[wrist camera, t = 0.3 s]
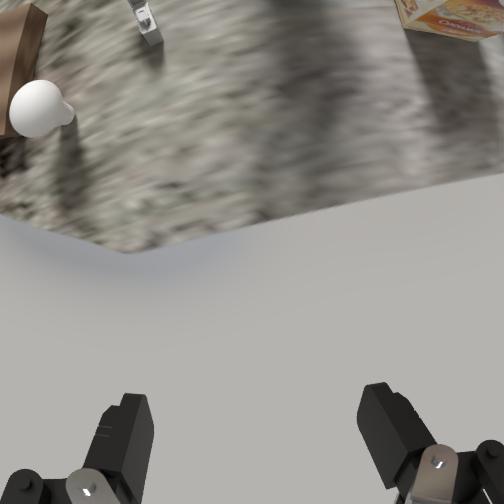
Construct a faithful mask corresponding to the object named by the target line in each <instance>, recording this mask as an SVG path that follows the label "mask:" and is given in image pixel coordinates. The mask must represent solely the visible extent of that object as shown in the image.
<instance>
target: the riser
mask: <svg viewBox="0 0 504 504" xmlns="http://www.w3.org/2000/svg"><path fill="white" fill-rule="evenodd" d="M47 16H48V15H47V14H46V13H45V12H43V11H42V10H40V9H39V8H38V7H36V6H35V5H33V4H32V3H29V4H26V5H23V6H20V7H17V8H15V9H12V10H9V11H7V12H4V13H2V14H0V139H3V138H10V137H17V136H23V135H21V134H19V133H18V132H17V131H16V130H15V129H14V128H13V126H12V124H11V121H10V115H9V112H10V106H11V102H12V100H13V98H14V96H15V94H16V93H17V92H18V90H20V89H21V88H22V87H23V86H24V85H26V84H27V83H29V82H32V81H33V75H34V70H35V65H36V60H37V55H38V50H39V46H40V42H41V38H42V34H43V30H44V26H45V23H46V19H47Z"/></svg>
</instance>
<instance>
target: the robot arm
mask: <svg viewBox="0 0 504 504" xmlns="http://www.w3.org/2000/svg"><path fill="white" fill-rule="evenodd" d="M357 424H358V428H359V430H360V432H361V434H362V436H363V439H364V441H365V443H366V445H367V447H368V450H369V452H370V454H371V456H372V459H373V461H374V463H375V465H376V467H377V470H378V472H379V474H380V476H381V479H382V481H383V483H384V485H385V488H386V489H390V488H393V487H396V486H397V488H398V490H399V492H398V494H397V496H396V498H395V501H394V504H490V502H489V501H488V499H487V497H486V495H485V493H484V492H483V489H485V491H486V493H487V494H488V496H489V498H490V500H491V502H492V503H493V504H504V445H503V444H501V443H500V442H498V441H495V440H486V441H484V442H482V443H481V444H480V445H479V446H478V448H477V449H476V451H469V452H459V453H456V452H455V451H454V450H453V449H452V448H450V447H449V446H446V445H442V444H437V442H436V441H435V439H434V438H433V437H432V435H431V433H430V432H429V430H428V429H427V427H426V426H425V424H424V423H423V421H422V420H421V418H419V415H418V414H417V412H416V411H414V408H413V406H412V405H411V403H410V402H409V400H408V399H407V398H405V397H404V396H402V395H401V394H400V393H398V392H397V393H393V392H392V391H391V389H390V387H389V386H388V385H387V383H385V382H382V383H377V384H370V385H366V386H365V388H364V391H363V394H362V398H361V402H360V405H359V408H358V412H357ZM153 438H154V424H153V420H152V417H151V412H150V409H149V405H148V402H147V397H146V396H145V395H144V394H130V393H125V394H124V395H123V398H122V401H121V403H120V406H114V405H111V406H110V407H109V408H108V409H107V410H106V411H105V412H104V413H103V415H102V417H101V420H100V422H99V427H97V430H96V433H95V436H94V438H93V440H92V443H91V446H90V448H89V451H88V454H87V456H86V459H85V463H84V465H83V467H82V468H81V469H79V470H76V471H74V472H72V473H71V474H70V475H69V476H68V478H65V479H42V478H41V477H40V476H39V474H38V473H36V472H35V471H33V470H29V469H21V470H18V471H16V472H14V473H13V474H12V475H11V476H10V478H9V480H8V482H7V485H6V487H5V490H4V492H3V495H2V497H1V500H0V504H141V501H142V496H143V490H144V485H145V479H146V474H147V468H148V463H149V458H150V453H151V448H152V443H153Z"/></svg>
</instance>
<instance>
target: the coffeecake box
mask: <svg viewBox="0 0 504 504" xmlns="http://www.w3.org/2000/svg"><path fill="white" fill-rule="evenodd" d="M395 1H396V4H397V8H398V12H399V16H400V19H401V22H402V26H403V28H405V29H412V30H418V31H424V32H430V33H435V34H440V35H445V36H450V37H455V38H459V39H463V40H467V41H471V42H476V41H479V40H482V39H485V38H488V37H491V36H494V35H497V34H501V33H504V0H395Z"/></svg>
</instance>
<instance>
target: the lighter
mask: <svg viewBox="0 0 504 504" xmlns="http://www.w3.org/2000/svg"><path fill="white" fill-rule="evenodd" d="M128 2H129V4H130V6H131V7H132V8H133V12H134V15H135V17H136V20H137V23H138V25H139V28H140V30H141V33H142V35H143V36H144V37H145V39H146V40H147V42H148V43H149V45H150V46H154V45H156V44H158V43H161V42H163V37H162V35H161V32H160V30H159V27H158V25H157V23H156V20H155V18H154V16H153V14H152V12H151V10H150V8H149V6H148V4H147V3H145V2H146V0H128Z"/></svg>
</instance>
